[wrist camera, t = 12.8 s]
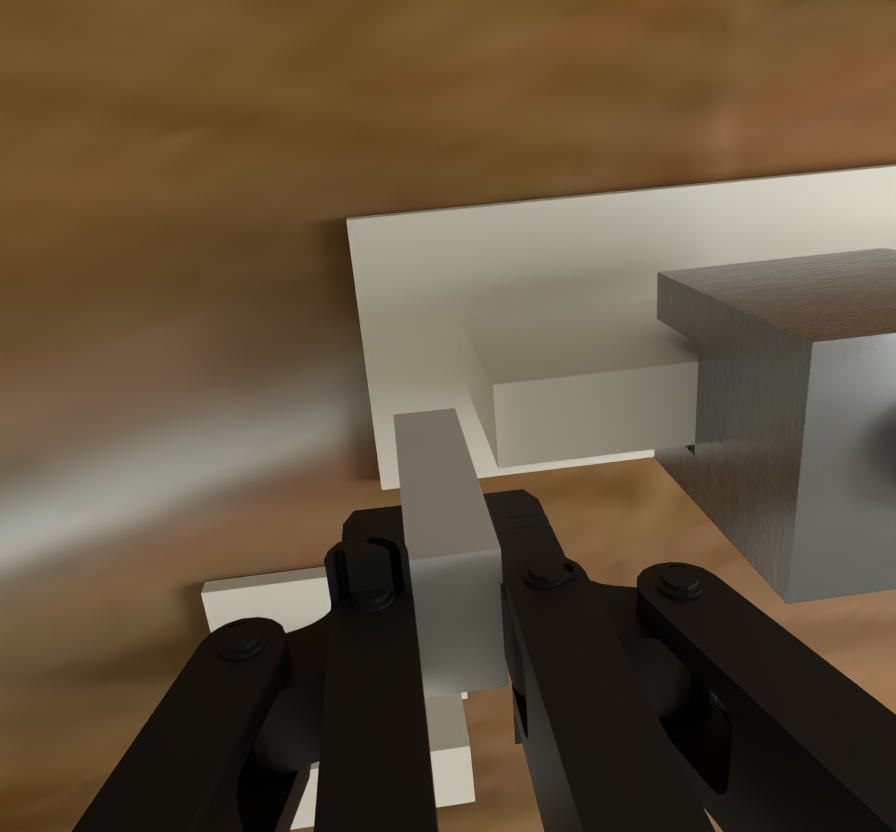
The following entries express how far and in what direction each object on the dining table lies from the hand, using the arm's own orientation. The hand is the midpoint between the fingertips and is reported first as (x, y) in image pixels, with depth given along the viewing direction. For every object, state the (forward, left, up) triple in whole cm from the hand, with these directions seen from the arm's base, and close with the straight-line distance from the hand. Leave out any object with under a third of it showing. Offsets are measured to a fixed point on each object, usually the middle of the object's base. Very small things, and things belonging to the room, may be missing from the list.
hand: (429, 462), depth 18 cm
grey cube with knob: (0, +11, -5) cm, 12 cm away
